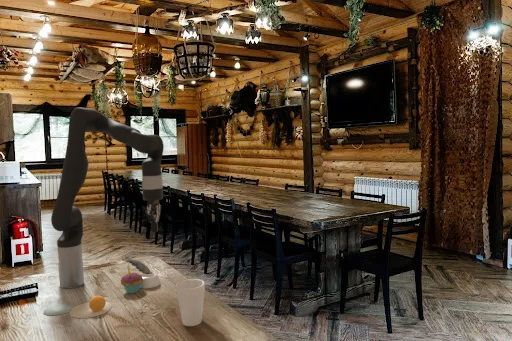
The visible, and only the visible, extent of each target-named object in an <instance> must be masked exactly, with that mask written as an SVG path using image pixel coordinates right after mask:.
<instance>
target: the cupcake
mask: <svg viewBox="0 0 512 341" xmlns="http://www.w3.org/2000/svg"><path fill="white" fill-rule="evenodd" d="M130 268H131V267H130V265H129V264H127V270H128V273H127V274H125V275H123V276H122V277H121V278H120V284H121V285H122V286H123V287H124V290H125V291H126V292H125V293H127V294H134V293H135V294H136V293H137V292H139V290H140V288H139V287H140V284H141V282H143V278H142V276H141V275H142V274H139V273H137V272H131V269H130Z"/></svg>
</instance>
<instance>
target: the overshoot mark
mask: <svg viewBox="0 0 512 341" xmlns="http://www.w3.org/2000/svg"><path fill="white" fill-rule="evenodd" d="M74 307H75V305H73V304H72V303H66V302H65V303H57V304H54V305H51V306H49V307H46V308H45V309H44V310H43V315H45V316H50V317H51V316H60V315H65V314H67V313H70V311H71V310H72V309H73V308H74Z"/></svg>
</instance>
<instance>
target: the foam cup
mask: <svg viewBox="0 0 512 341" xmlns="http://www.w3.org/2000/svg"><path fill="white" fill-rule="evenodd" d="M205 290H206V284H205V281H204V280H202V279H199V278H188V279H182V280H180V281H178V282H177V283H176V284H175V292H176V293H175V294H177V296H176V297H177V299H178V305H179V312H180V317H181V322H182V325H183V326H185V327H194V326H199V324H201V323H202V320H203V310H204V309H203V308H204V299H205V298H204V297H205Z"/></svg>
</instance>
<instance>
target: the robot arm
mask: <svg viewBox="0 0 512 341" xmlns="http://www.w3.org/2000/svg"><path fill="white" fill-rule="evenodd" d="M86 132H98V133H103V134H106V135H108V136H109V137H111V138H112V139H114V140H116V141H117V142H119V143H122V144H123V145H126V146H130V147H131V148H132V149H133V150H135V151H136V152H139V153H141V154H145V155H146V154H147V155H146V156H147V157H146V158H145V159H144V160H143V161H142V163H141V179H142V180H141V188H142V191H141V192H142V200H143V201H147V206H146V210H144V211H145V212H144V213H145V217H146V218H147V221H148V223H150V229H151V233H157V232H159V221H160V219H161V213H162V205H161V204H160V201H161V200H163V199H164V191H163V188H164V187H163V177H162V158H163V154H164V141H163V139H162V137H161V136H160V135H158V134H144V133H142V132H141V131H140V130H139V129H137V128H135V127H132V126H129V125H126V124H123V123H121V122H118V121H116V120H114V119H111V118H110V117H108V116H107V115H104V114H102V113H101V112H99V111H98V110H96V109H94V108H89V107H88V108H87V107H75V108H74V109H73V110H72V111H71V113H70V115H69V121H68V134H67V143H66V144H67V145H66V150H65V155H64V160H63V166H62V171H61V176H60V177H61V178H60V183H59V187H58V192H57V197H56V200H55V203H54V206H53V209H52V212H51V217H50V221H51V222H50V223H51V226H52V227H53V229H54V230H55V231H57V232H62V233H61V235H60V236H59V238H58V239H57V241H56V246H57V257H58V258H57V259H58V264H57V265H58V278H59V279H58V280H59V285H60V288H62V289H74V288H79V287H81V286H82V285H85V276H84V275H85V274H84V273H85V272H84V262H83V261H84V259H83V248H82V238H83V235H84V231H83V230H84V226H83V224H84V221H83V214H82V212H81V210H80V208H79V207H77V206H74V203H75V199H76V198H77V195H78V194H79V192H80V191H81V189H82V187H83V185H84V183H85V182H86V178H87V175H88V169H89V159H88V157H87V153H86V151H85V146H84V142H85V135H86Z"/></svg>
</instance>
